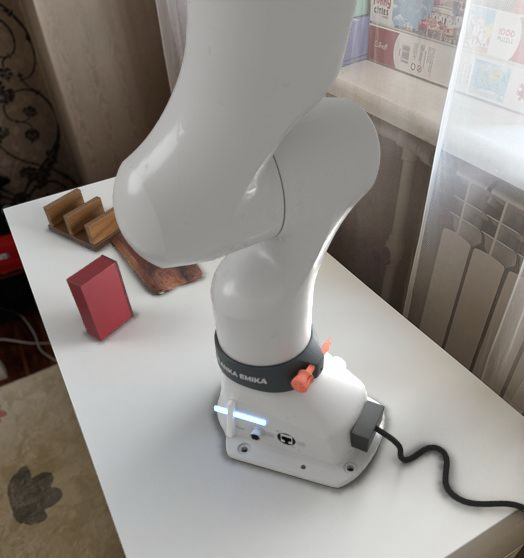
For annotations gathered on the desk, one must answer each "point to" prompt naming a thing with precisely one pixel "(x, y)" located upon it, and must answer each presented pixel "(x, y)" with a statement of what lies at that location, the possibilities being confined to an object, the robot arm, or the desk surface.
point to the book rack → (82, 220)
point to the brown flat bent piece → (156, 269)
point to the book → (100, 297)
